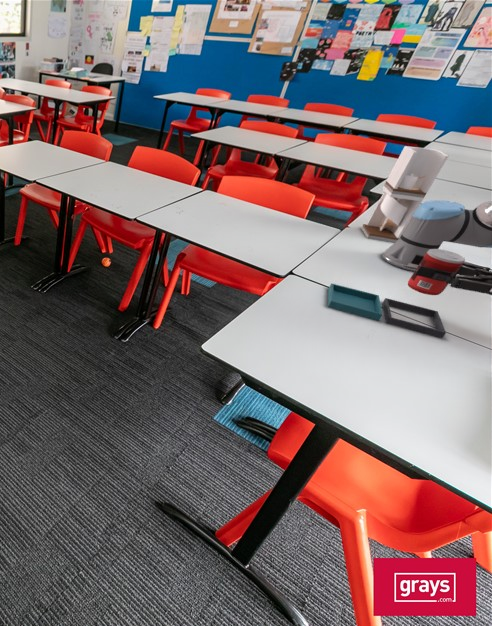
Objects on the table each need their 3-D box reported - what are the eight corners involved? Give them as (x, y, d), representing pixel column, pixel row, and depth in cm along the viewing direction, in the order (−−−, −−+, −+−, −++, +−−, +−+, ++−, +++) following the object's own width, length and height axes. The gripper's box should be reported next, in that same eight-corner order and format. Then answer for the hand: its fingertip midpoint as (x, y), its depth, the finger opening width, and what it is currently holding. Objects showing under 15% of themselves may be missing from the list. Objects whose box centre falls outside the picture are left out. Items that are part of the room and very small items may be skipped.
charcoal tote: (382, 303, 134) (385, 297, 133) (433, 316, 129) (437, 311, 128) (385, 323, 125) (389, 317, 124) (441, 338, 119) (446, 332, 118)
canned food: (447, 297, 118) (472, 262, 112) (415, 293, 119) (439, 259, 113) (430, 284, 124) (454, 250, 118) (401, 280, 125) (422, 247, 119)
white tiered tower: (361, 228, 187) (404, 146, 167) (389, 233, 183) (437, 149, 163) (367, 237, 178) (414, 152, 158) (397, 242, 175) (448, 156, 155)
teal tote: (328, 289, 140) (331, 283, 139) (375, 301, 135) (379, 295, 134) (327, 307, 131) (331, 300, 130) (378, 321, 125) (382, 314, 124)
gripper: (525, 318, 105) (413, 291, 115) (501, 283, 120) (403, 262, 129) (547, 293, 101) (429, 267, 110) (520, 260, 115) (417, 239, 125)
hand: (415, 264), depth 120 cm, fingers closed on canned food, 8 cm apart
